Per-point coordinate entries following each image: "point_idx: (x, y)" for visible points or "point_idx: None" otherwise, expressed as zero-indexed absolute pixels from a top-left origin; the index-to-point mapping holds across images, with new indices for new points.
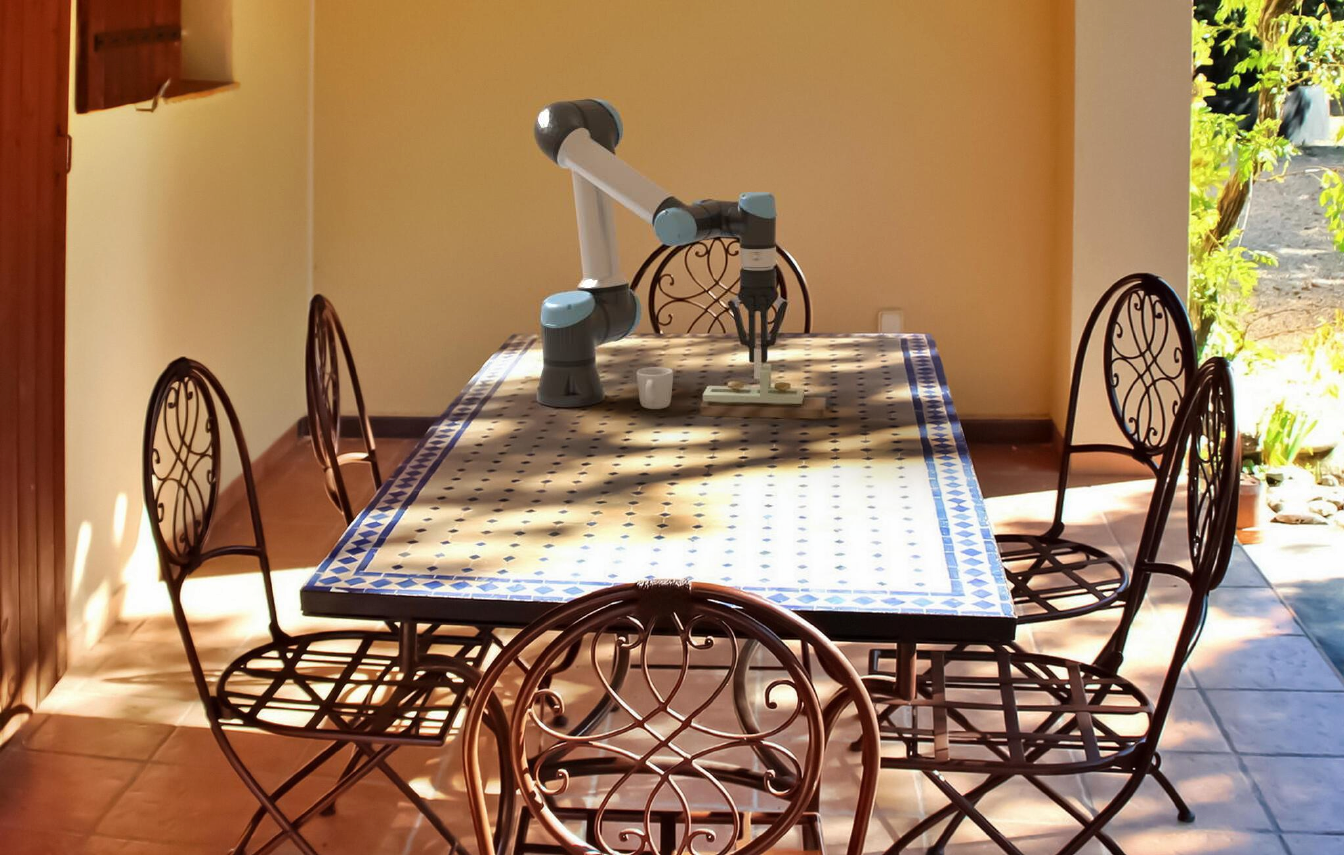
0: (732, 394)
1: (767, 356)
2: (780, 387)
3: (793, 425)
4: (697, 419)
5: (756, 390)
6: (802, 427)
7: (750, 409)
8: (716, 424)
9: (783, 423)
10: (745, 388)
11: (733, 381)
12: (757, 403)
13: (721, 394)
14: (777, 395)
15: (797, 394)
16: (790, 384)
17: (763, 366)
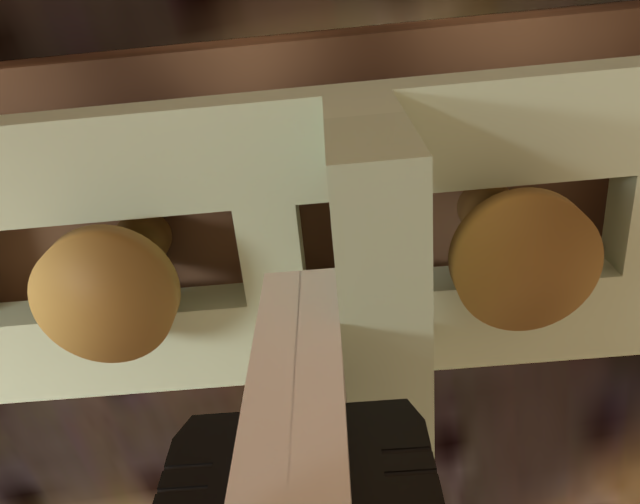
0: (136, 368)
1: (431, 451)
2: (509, 324)
3: (544, 429)
4: (21, 417)
5: (284, 227)
6: (590, 450)
7: None
8: (154, 474)
9: (490, 407)
10: (174, 181)
11: (55, 248)
12: (310, 261)
13: (58, 382)
14: (473, 338)
15: (630, 288)
16: (603, 254)
17: (352, 318)
